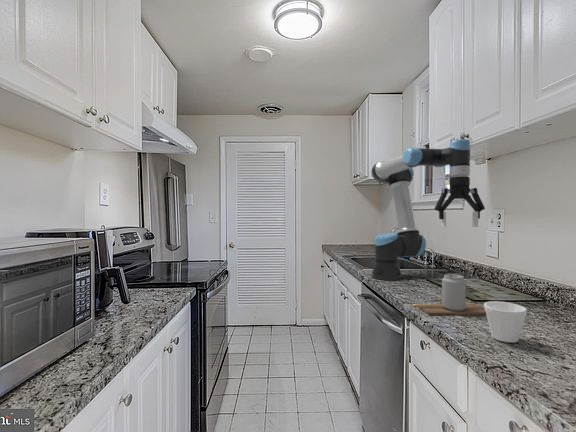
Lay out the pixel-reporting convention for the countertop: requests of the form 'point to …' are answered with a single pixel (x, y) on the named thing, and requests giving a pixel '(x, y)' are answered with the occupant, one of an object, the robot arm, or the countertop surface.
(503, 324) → the cup
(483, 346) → the countertop surface
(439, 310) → the board
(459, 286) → the can
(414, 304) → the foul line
